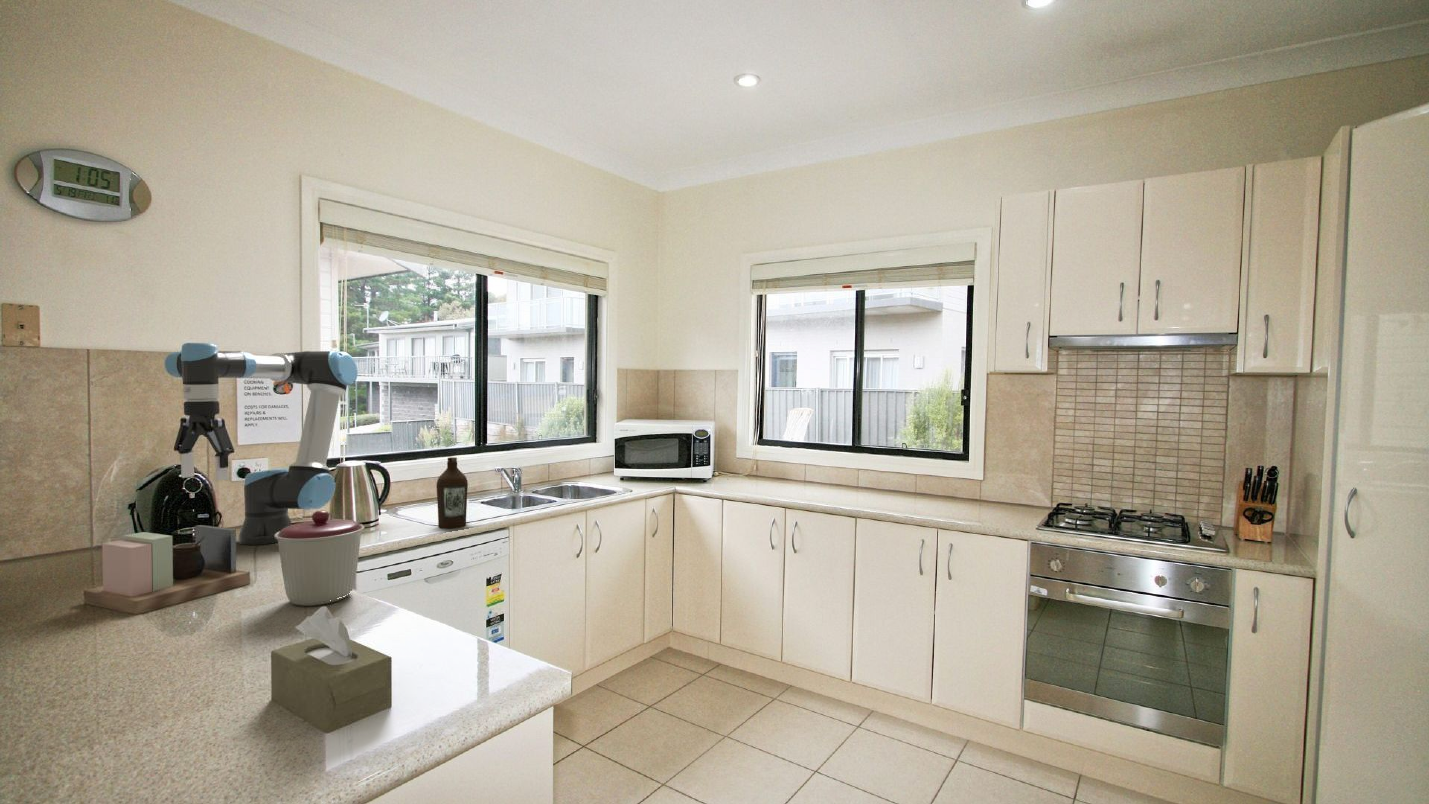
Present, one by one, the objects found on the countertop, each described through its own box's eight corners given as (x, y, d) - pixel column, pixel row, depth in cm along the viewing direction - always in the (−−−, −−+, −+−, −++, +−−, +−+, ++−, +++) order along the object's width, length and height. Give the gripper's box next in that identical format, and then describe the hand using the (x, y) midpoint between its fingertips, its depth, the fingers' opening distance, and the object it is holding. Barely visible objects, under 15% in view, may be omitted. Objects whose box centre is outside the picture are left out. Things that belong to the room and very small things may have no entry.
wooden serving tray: (199, 575, 170) (199, 564, 170) (249, 583, 162) (249, 572, 162) (83, 603, 147) (83, 590, 147) (136, 614, 140) (136, 601, 140)
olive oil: (434, 524, 235) (433, 457, 234) (464, 521, 240) (464, 455, 240) (439, 530, 226) (439, 459, 225) (470, 526, 232) (470, 458, 231)
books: (144, 581, 154) (143, 532, 154) (172, 586, 150) (172, 535, 150) (102, 590, 147) (102, 539, 147) (131, 596, 143) (131, 543, 143)
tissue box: (269, 699, 102) (269, 602, 102) (333, 677, 110) (333, 586, 110) (327, 735, 92) (326, 626, 92) (393, 707, 100) (393, 607, 100)
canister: (314, 616, 139) (313, 520, 139) (255, 607, 145) (254, 515, 145) (381, 592, 157) (381, 506, 156) (327, 584, 162) (326, 502, 162)
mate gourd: (174, 574, 160) (174, 534, 160) (211, 572, 163) (211, 533, 163) (161, 582, 153) (161, 541, 153) (199, 579, 156) (200, 539, 156)
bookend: (200, 566, 167) (200, 525, 167) (236, 572, 162) (235, 529, 162) (195, 567, 166) (195, 525, 166) (231, 573, 161) (230, 530, 161)
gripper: (155, 400, 172) (158, 478, 173) (218, 401, 164) (221, 483, 165) (185, 398, 179) (189, 473, 180) (248, 400, 171) (251, 478, 172)
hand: (204, 478), depth 172 cm, fingers open, 13 cm apart
